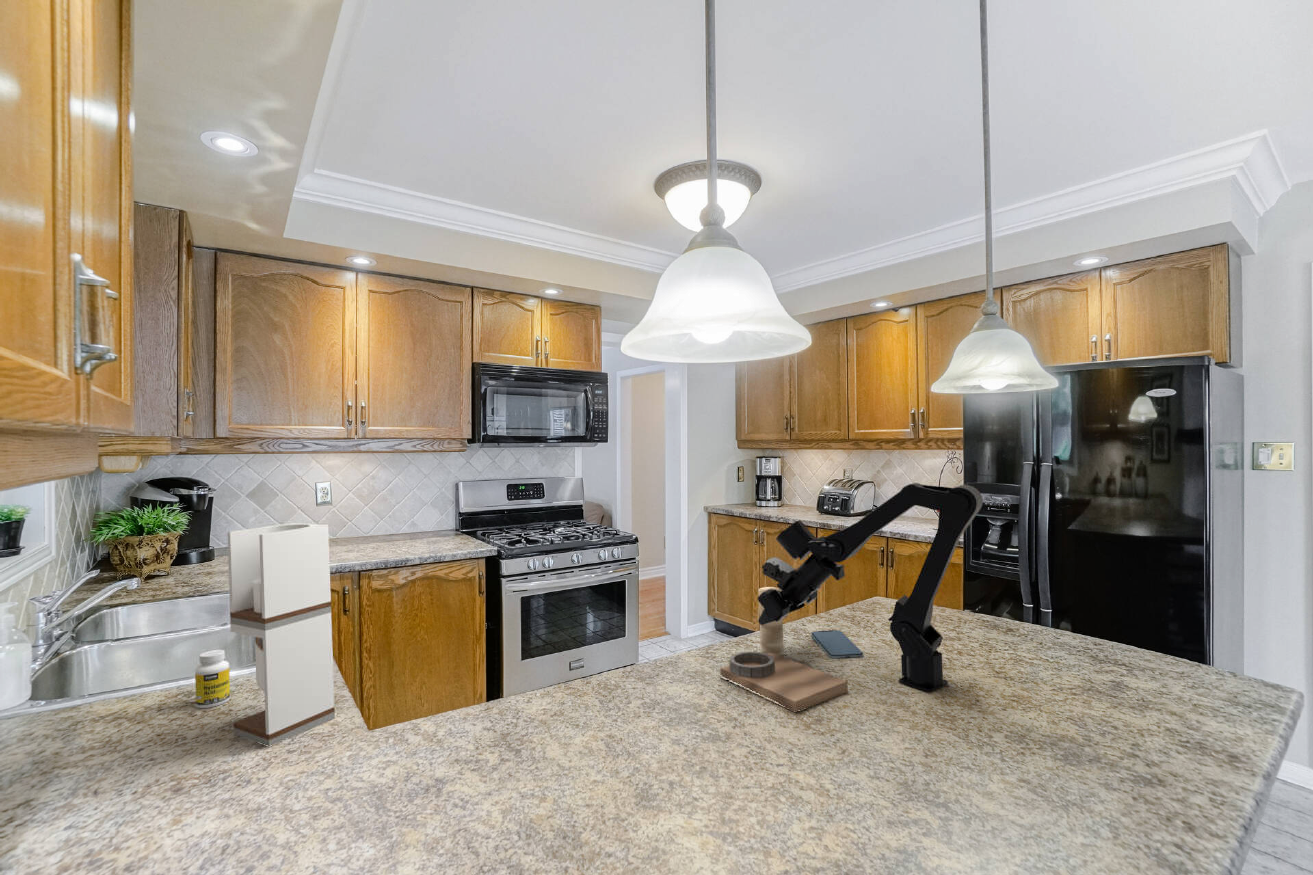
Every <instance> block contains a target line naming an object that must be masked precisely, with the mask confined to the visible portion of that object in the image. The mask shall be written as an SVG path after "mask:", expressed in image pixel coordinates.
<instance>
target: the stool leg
mask: <svg viewBox="0 0 1313 875" xmlns="http://www.w3.org/2000/svg"><path fill="white" fill-rule="evenodd" d="M769 589H775V590H776V591H777V592H778V593H779V592H780V591H782V589H779V588H778V587H775V586H774V587H773V586H764V587H761V588H758V597H759V596H760V595H761V594H762V593H763V592H765V591H767V590H769ZM758 607H759V608H758V610H759V613H758V614H759V617H760V616H761V614H762V612H763V610H764V607H763V606H762V605H761V604H760V602H759V601H758ZM783 624H784V623H783V619H781V620H779V621H778V622H777V621H773V622H770V623H767V624H763V625H760V624H759V635H760V636H759V638H760V640H759V641H760V652H762V653H770V652H771V653H774V654H776V655H779V656H782V657H783V655H785V654H784V652H785V650H784V647H785V646H784V626H783Z"/></svg>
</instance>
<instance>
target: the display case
mask: <svg viewBox="0 0 1313 875" xmlns="http://www.w3.org/2000/svg"><path fill="white" fill-rule="evenodd" d="M329 538H330V535H329V524H320V523H319V524H315V523H300V522H290V523H283V524H277V525H270V526H269V525H268V526H262V527H261V526H260V527H254V528H253V527H252V528H248V529H240V530H232V531H227V555H228V556H227V558H228V559H227V560H228V563H227V565H228V587H229V589H228V590H229V593H228V594H229V618H230V619H229V620H230V632H231V633H235V634H241V635H245V636H250V637H254V651H255V680H256V684H257V686H258V688H259V689H260V690H261V691H262V692H263V693H264V710H262V711H259V712H257V713H255V714H253V715H250V716H248V717H245V718H242V719H239V720H237V721H234V722H233V735H235V736H237V737H241V738H243V739H245V738H246V740H248V739H249V741H251V740H253V741H256V742H260V743H262V744H265V745H268V746H270V745H273V744H275V743H277V742H280V741H282V740H285V741H287V740H286V738H289V739H292V738H293V737H292V736H294V737H296V736H298V735H300V734H303V733H304V732H307V731H309V730H312V729H314V728H316V727H318V726H320V725H323V724H324V723H327V722H329V721H331V720H333V719H335V718H336V717H335V713H336V712H335V685H334V683H335V682H334V657H333V656H334V655H333V651H334V650H333V628H332V627H333V626H332V622H333V621H332V596H331V595H332V594H331V591H332V590H331V570H330V569H331V566H330V565H331V563H330V541H329V540H330V539H329ZM302 732H303V733H302ZM297 734H298V735H297ZM295 735H296V736H295ZM253 741H252V742H253ZM256 742H255V743H256ZM282 742H283V741H282ZM280 743H281V742H280ZM262 744H261V745H262ZM273 746H274V745H273Z"/></svg>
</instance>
